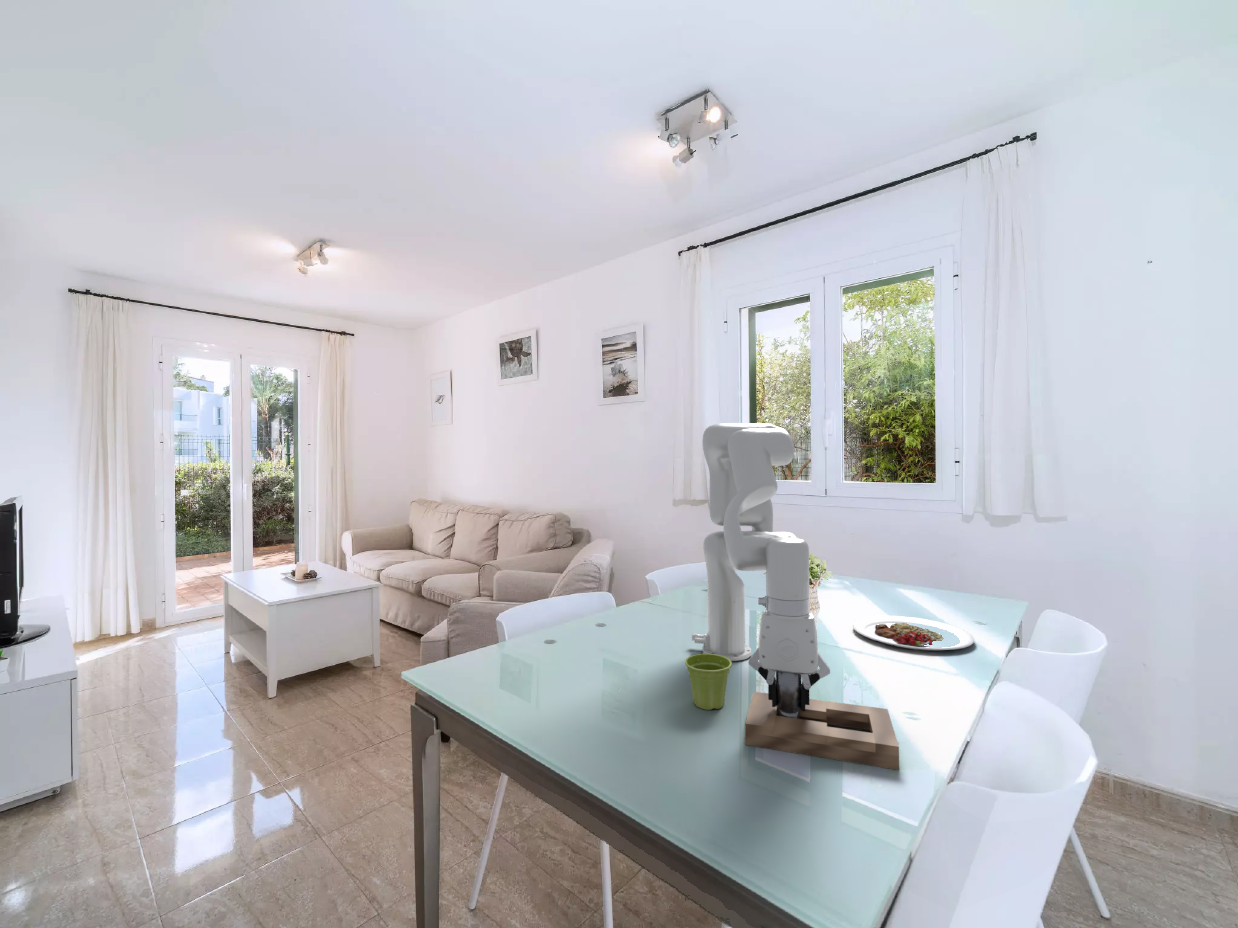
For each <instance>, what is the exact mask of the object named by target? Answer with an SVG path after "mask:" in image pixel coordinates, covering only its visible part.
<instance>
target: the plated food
mask: <svg viewBox="0 0 1238 928" xmlns="http://www.w3.org/2000/svg"><path fill="white" fill-rule="evenodd" d="M886 623H895V624H892V625H891V626H890V628H889V627H888V626H889V625H886ZM907 623H913V624H922V625H925V626H932V627H937V628H939V629H943V630H947V631H948V632H951V633H954V635H956V636H957V637H958V638H959V640H960V643H959V644H957V645H955V646H951V647H942V648H929V647H931V646H924V645H927V644H929V645H933V644H932V642H933V641H942V640H943V639H944V638H943V637H942V634H940V633H937V632H934V631H931V630H929V629H926V628H925V629H923V628H922V627H918V626H914V625H909V624H907ZM877 624H879V625H877ZM852 628H853V630H854V631H856V633H858V634H860V635H862V636H864V637H866V638H868V639H871V640H873V641H878V642H880V643H882V644H886V645H889V646H893V645H894V646H893V647H897V648H898V647H899V648H904V649H908V650H917V649H918V650H919V651H945V650H946V651H948V650H950V651H951V650H960V649H965V648H967V647H971V646H972V645H973V644H974V643H975V638H974V636H973V635H972V633H970V632H968V631H966V630H965V629H964V628H963V629H962V628H960V627H957V626H956V625H955V626H954V625H951V624H949V623H945V622H941V621H936V620H933V619H931V620H930V619H926V618H922V617H921V618H920V617H911V616H902V615H901V616H900V615H873V616H866V617H862V618H859V619H856V620H855V621H853V623H852Z"/></svg>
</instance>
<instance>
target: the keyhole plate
mask: <svg viewBox="0 0 1238 928" xmlns="http://www.w3.org/2000/svg"><path fill="white" fill-rule="evenodd" d="M750 700H751V701H750V703H749V707H748V711H747V714H746V715H747V716H746V720H745V723H744V724H745V725H744V729H745V730H744V731H745V732H744V734H745V735H744V736H745V742H744V743H745V744H744V745H745V746H749V747H755V748H756V747H757V748H762V749H768V750H769V749H770V750H775V751H781V752H786V753H793V754H799V755H804V756H806V755H807V756H812V757H818V758H822V759H823V758H824V759H829V760H830V759H831V760H834V761H835V760H836V761H841V762H848V763H852V764H853V763H854V764H860V765H866V766H873V767H878V768H885V769H889V770H890V769H892V770H895V771H896V770H897V771H899V770H900V745H899V742H898V739H897V735H896V733H895V730H894V726H893V723H892V719H891V716H890V713H889V709H888V708H883V707H874V706H868V705H861V704H853V703H852V704H851V703H844V702H837V701H828V700H821V699H814V698H809V705H805V711H802V710H801V711H799V712H798V719H796V718H789V717H782V716H780V709H778V708H777V706H776V707H772V700H769V699H768V693H767V692H761V691H753V693H752V696H751V699H750ZM828 725H832V726H837V727H832V726H828ZM840 727H844V728H840ZM845 727H846V728H845ZM847 728H851V729H847ZM854 729H857V730H854ZM858 729H859V730H858ZM860 730H863V731H860ZM865 730H866V731H867V732H866V731H865ZM868 731H870V732H868Z"/></svg>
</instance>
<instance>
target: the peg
mask: <svg viewBox="0 0 1238 928" xmlns="http://www.w3.org/2000/svg"><path fill="white" fill-rule="evenodd" d="M775 678H776V703H777V705H776V706H777V708H778V709H780V716H782V717H789V718H796V719H798V712H799V711H801V684H802V677H801V674H798V673H790V672H781V671H776V672H775Z"/></svg>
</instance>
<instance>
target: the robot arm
mask: <svg viewBox="0 0 1238 928" xmlns="http://www.w3.org/2000/svg"><path fill="white" fill-rule="evenodd" d="M702 449H703V450H702V451H703V454H704V458H705V462H706V464H707V467H708V474H709V517H710V521H711V523H713V524H714V525H716V526H719V527H723V530H718V531H714V532H711V533H709V534H707V535H706V536H705V538H704V540H703V556H704V561H705V568H706V579H707V584H706V585H707V587H706V588H707V633H703V634H702V633H701V634H700V633H693V632H692V634H691V641H693V642H694V644H700V645H701V644H703V645H702V651H701V652H702V654H716V655H720V656H724V657H726V658H728V659H729V660H730V661H731V662H738V661H743V660H747V659H748V662H747V663H748V665H749V666H750V667H751V668H752V669H754V670H755V671H757V672H758V674H759V675H760V676H761V677H762V678H763V679H764V681H766V684H767V686H768V687H767V689H768V691H767V692H768V699H769V700H772V707H776V705H777V703H776V671H781V672H790V673H798V674H801V710H802V711H805V705H809V699H810V689H811V687H812V686H814V685H815V684H816V683H818V681H820V679H823V678H824V677H827V676H828V675H830V674H831V668H830V667H829V665H828V664H827V663H826V661H825V659H824V658H823V657H822V655H821V654H820V652H819V647H818V634H817V632H818V631H817V624H816V620H815V616H814V614H813V613H812V612H810V611H811V610H810V550H809V549H810V547H809V544H808V542H807V541H806V540H804V539H802V538H800V537H798V536H797V535H795V534H794V533H792V532H788V531H774V529H773V528H774V527H773V526H774V524H773V523H774V519H773V518H774V512H773V511H774V508H773V507H774V506H773V503H772V502H773V501H772V498H773V497H774V496H775V495H776V494H777V491H778V487H779V486H778V481H777V478H776V475H775V471H774V468H773V466H774V467H776V466H779V467H780V466H781V467H782V466H787V465H790V463H791V462H792V460H793V458H794V455H795V444H794V441H793V437H792V436H791V435H790V433H789V432H788V431H787V430H786V429H785V428H782V427H780V426H777V425H774V424H772V423H764V422H763V423H760V422H757V423H756V422H755V423H751V422H750V423H748V422H747V423H746V422H745V423H743V422H741V423H740V422H734V423H733V422H729V423H728V422H727V423H716V424H712V425H709V426H707V427H706V428H705V430H704V431H703V435H702ZM741 527H751V530H742V529H741ZM735 570H738V571H743V572H755V571H756V572H760V571H765V582H766V583H765V587H766V588H765V590H766V595H765V596H763V597H758V599H757V600H758V601H757V602H758V605H759V606H760V605H761V606H762V607H764V608H765V609H764V610H763V611H762V613H761V616H760V617H761V618H760V625H759V635H758V636H759V637H758V639H759V640H758V648H757V649H756V651H755V652H754V653H753V651H752V648H751V647H750V646H749V645H747V644H746V589H745V583H744V581H743V580H742V578H741V577H740V576H739V574H737V572H736V571H735ZM818 668H819V669H818Z"/></svg>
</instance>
